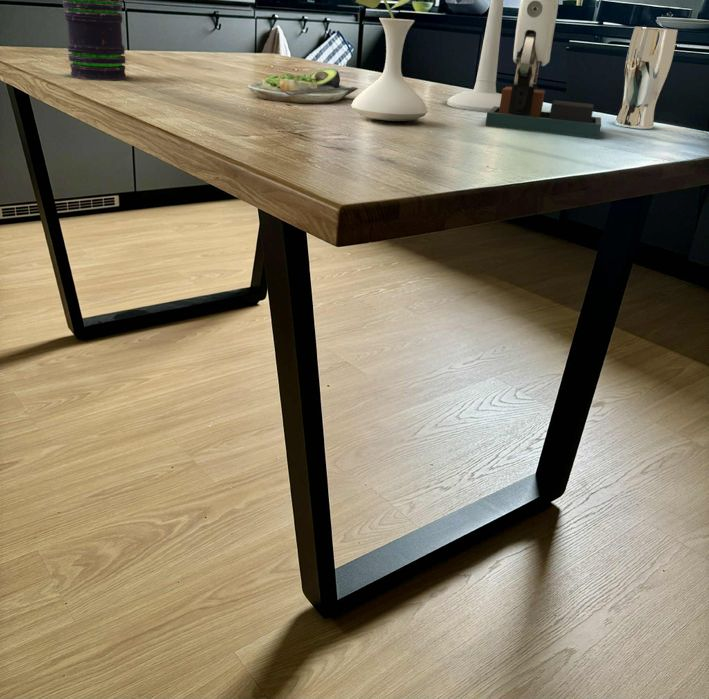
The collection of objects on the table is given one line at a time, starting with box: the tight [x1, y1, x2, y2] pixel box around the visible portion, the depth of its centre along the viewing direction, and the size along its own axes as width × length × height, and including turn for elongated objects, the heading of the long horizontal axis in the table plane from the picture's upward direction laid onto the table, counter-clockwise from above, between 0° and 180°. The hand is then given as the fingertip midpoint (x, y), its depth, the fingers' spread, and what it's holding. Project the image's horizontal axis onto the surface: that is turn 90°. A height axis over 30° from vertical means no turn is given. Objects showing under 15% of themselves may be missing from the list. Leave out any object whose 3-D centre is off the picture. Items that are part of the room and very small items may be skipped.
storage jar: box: [62, 0, 127, 81], centre depth 129 cm, size 10×10×15 cm
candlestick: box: [446, 0, 505, 113], centre depth 123 cm, size 13×13×30 cm
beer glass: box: [614, 26, 679, 130], centre depth 117 cm, size 7×7×15 cm
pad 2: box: [549, 99, 595, 123], centre depth 108 cm, size 6×5×4 cm
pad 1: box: [499, 86, 546, 117], centre depth 110 cm, size 6×5×4 cm
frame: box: [484, 106, 602, 140], centre depth 110 cm, size 17×9×2 cm, turn 73°
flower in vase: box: [351, 0, 428, 122], centre depth 102 cm, size 13×11×25 cm
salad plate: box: [247, 68, 359, 104], centre depth 123 cm, size 19×18×5 cm
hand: (521, 110), depth 110 cm, fingers closed on pad 1, 5 cm apart
